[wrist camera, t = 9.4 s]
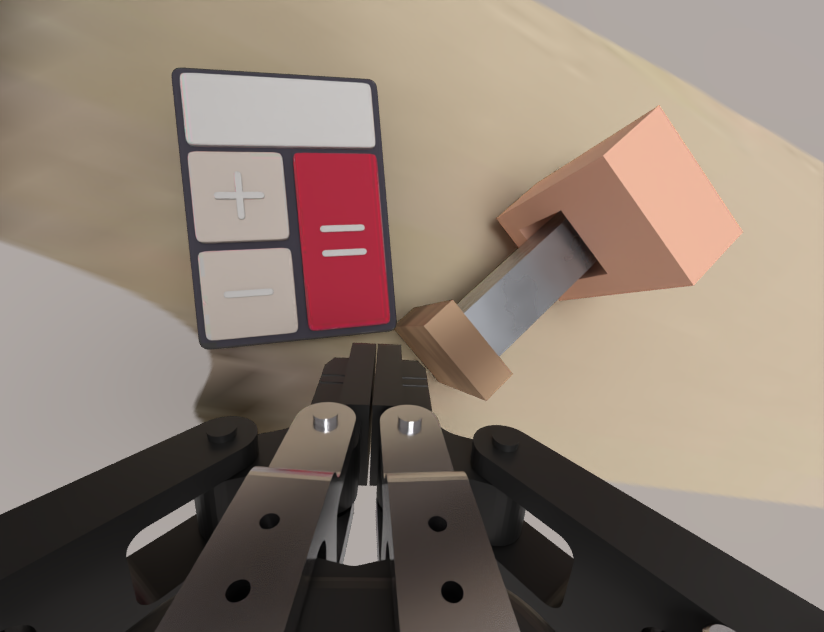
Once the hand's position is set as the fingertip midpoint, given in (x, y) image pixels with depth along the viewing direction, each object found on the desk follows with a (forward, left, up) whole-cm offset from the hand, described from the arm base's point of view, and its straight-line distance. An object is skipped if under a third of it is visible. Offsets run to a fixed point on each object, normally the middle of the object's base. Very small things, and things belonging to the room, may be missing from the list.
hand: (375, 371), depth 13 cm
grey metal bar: (+4, +13, -10) cm, 16 cm away
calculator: (-8, +3, -15) cm, 17 cm away
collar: (+4, +15, -12) cm, 20 cm away
